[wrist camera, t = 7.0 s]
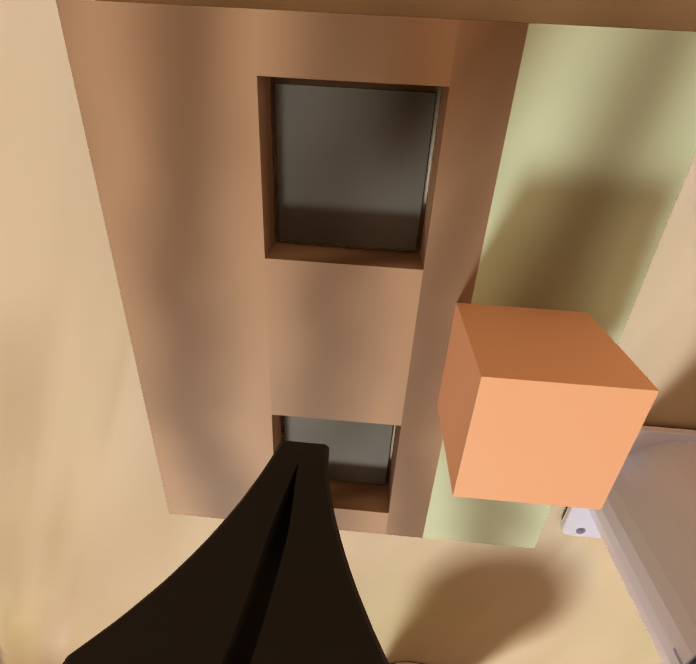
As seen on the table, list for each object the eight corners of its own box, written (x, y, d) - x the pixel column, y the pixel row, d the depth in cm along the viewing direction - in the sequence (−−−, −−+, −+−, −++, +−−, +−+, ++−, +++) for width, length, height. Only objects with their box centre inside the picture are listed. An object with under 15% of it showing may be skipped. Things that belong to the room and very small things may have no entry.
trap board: (699, 40, 14) (743, 34, 12) (524, 516, 25) (534, 548, 24) (93, 8, 15) (55, -2, 13) (183, 485, 26) (169, 513, 24)
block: (587, 312, 17) (658, 391, 12) (551, 414, 19) (601, 509, 15) (456, 302, 17) (481, 376, 13) (437, 404, 19) (452, 496, 15)
